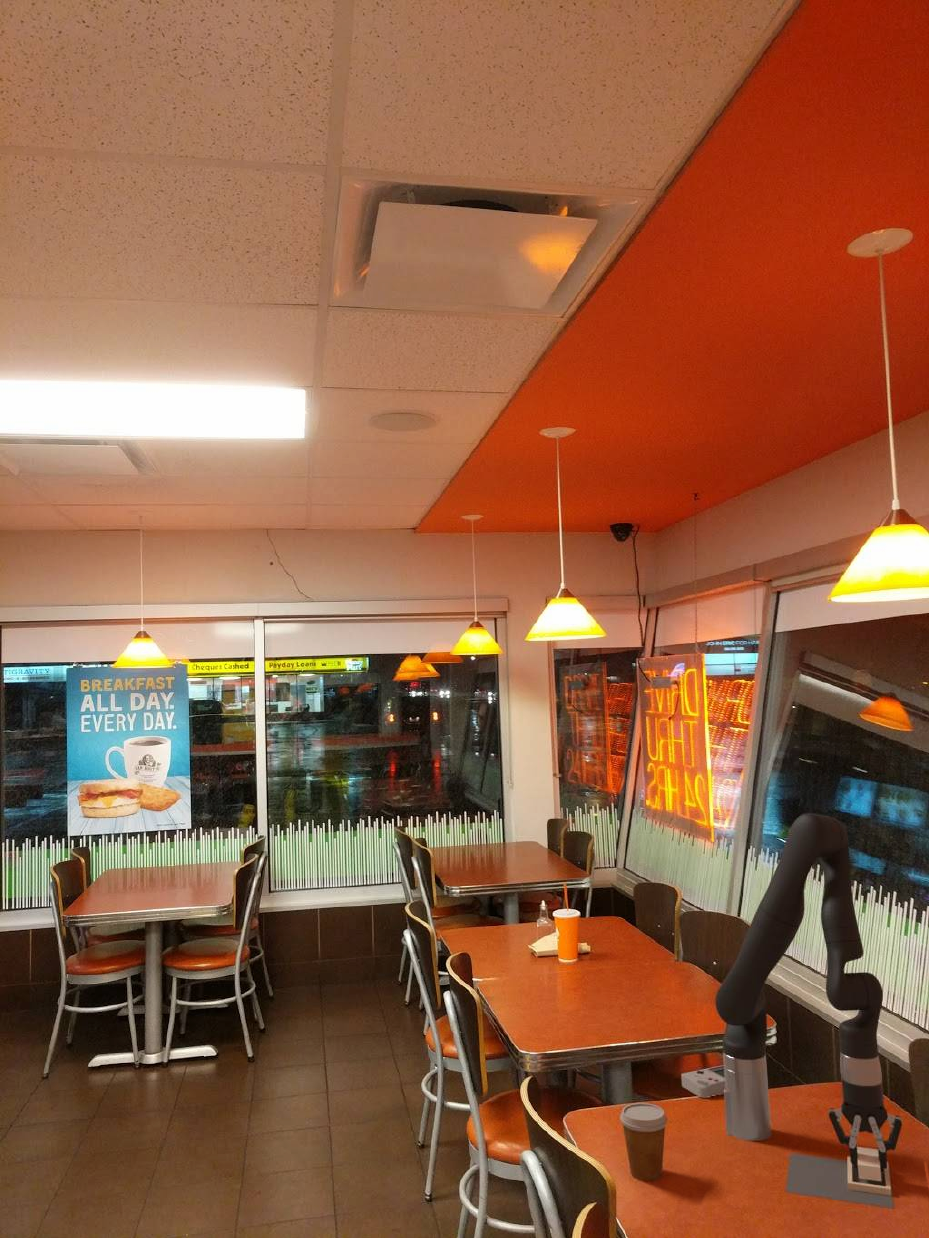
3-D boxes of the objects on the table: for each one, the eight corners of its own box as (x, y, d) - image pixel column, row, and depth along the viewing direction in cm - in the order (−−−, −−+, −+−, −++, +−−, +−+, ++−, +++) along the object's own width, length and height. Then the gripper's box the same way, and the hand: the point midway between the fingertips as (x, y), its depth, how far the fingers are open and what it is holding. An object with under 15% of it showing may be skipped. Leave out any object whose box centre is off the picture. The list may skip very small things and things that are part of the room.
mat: (785, 1194, 175) (785, 1185, 175) (790, 1155, 191) (789, 1146, 191) (894, 1211, 168) (893, 1201, 168) (889, 1169, 184) (888, 1160, 184)
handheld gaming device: (681, 1088, 229) (680, 1072, 229) (729, 1078, 235) (728, 1062, 235) (703, 1101, 221) (702, 1085, 221) (752, 1090, 226) (751, 1074, 227)
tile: (857, 1159, 184) (856, 1146, 184) (879, 1162, 182) (878, 1149, 183) (858, 1178, 177) (857, 1164, 177) (881, 1181, 175) (880, 1167, 175)
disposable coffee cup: (672, 1165, 188) (669, 1104, 190) (667, 1187, 179) (663, 1123, 181) (626, 1160, 191) (623, 1099, 193) (619, 1181, 182) (616, 1118, 184)
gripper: (899, 1073, 183) (907, 1164, 180) (823, 1066, 188) (830, 1154, 186) (901, 1087, 176) (910, 1182, 174) (823, 1079, 181) (830, 1171, 179)
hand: (868, 1167), depth 180 cm, fingers closed on tile, 4 cm apart
